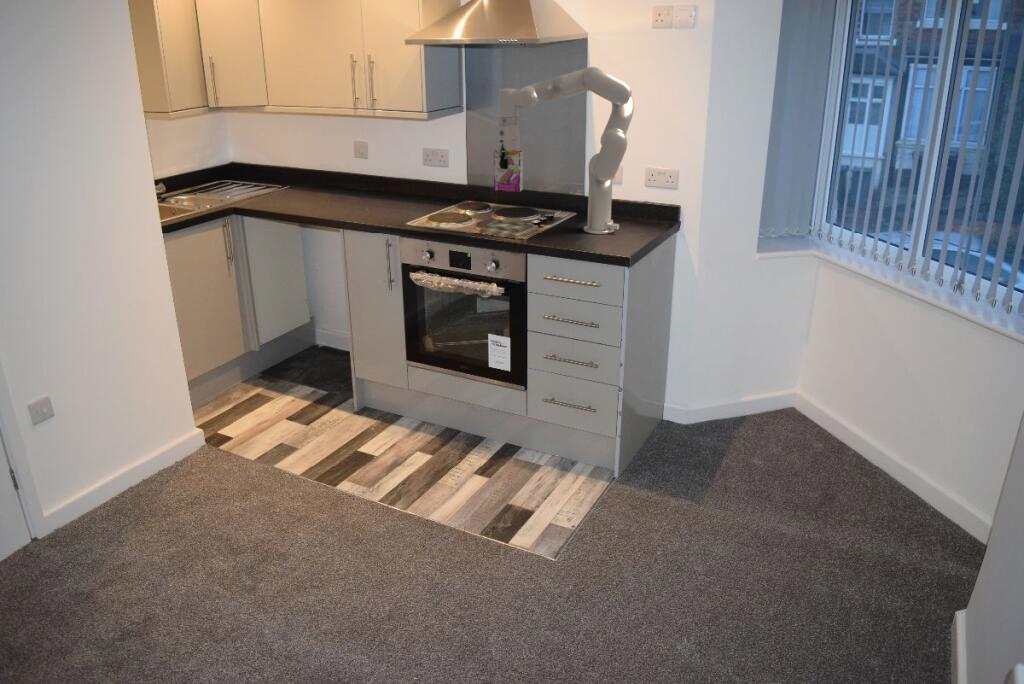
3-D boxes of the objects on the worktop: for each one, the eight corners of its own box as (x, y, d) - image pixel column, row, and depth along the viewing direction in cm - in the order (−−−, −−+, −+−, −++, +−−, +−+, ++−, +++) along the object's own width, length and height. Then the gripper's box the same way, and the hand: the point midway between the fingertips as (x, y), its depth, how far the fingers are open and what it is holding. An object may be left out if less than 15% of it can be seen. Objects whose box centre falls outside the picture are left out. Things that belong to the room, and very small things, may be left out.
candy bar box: (493, 191, 332) (493, 150, 325) (497, 188, 336) (496, 148, 330) (520, 192, 329) (520, 151, 323) (523, 190, 333) (523, 149, 327)
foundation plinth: (538, 230, 341) (538, 222, 340) (516, 239, 328) (516, 231, 327) (501, 224, 350) (501, 217, 349) (479, 233, 337) (479, 226, 335)
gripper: (504, 124, 313) (505, 171, 320) (527, 119, 327) (527, 165, 334) (488, 123, 317) (489, 170, 324) (511, 118, 331) (511, 163, 337)
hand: (508, 167), depth 329 cm, fingers closed on candy bar box, 5 cm apart
